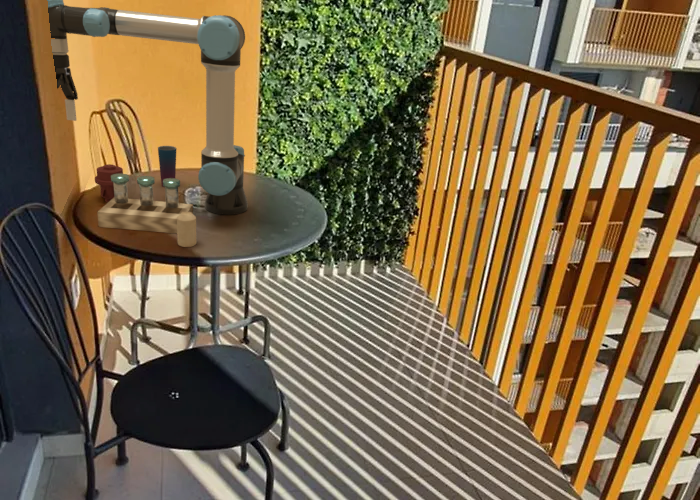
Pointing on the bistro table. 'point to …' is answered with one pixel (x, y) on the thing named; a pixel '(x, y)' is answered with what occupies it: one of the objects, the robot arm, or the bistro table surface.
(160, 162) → the cup
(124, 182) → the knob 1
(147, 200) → the green lidded glass jar
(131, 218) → the birch block
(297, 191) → the bistro table surface
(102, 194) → the mechanical component
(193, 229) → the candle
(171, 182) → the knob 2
